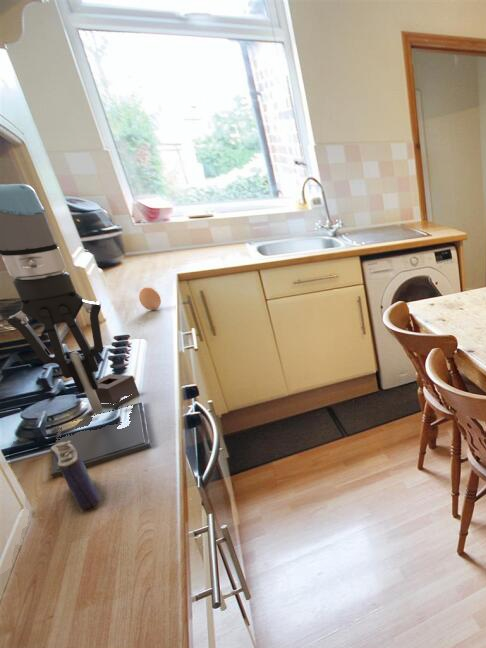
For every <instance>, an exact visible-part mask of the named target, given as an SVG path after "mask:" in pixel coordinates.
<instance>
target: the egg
mask: <svg viewBox="0 0 486 648" xmlns="http://www.w3.org/2000/svg"><path fill="white" fill-rule="evenodd" d="M138 297H139V298H138V299H139V302H140V304H141V306H142V307H143V308H144V309H146V310H148V311H156V310H158V309H159V307H160V306H161V303H162V300H161V296H160V294H159V293H158V291H157V290H155V289H154V288H152V287H150V286H145V287H143V288H142V289H141V290H140V291H139V294H138Z"/></svg>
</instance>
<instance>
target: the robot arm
mask: <svg viewBox="0 0 486 648" xmlns="http://www.w3.org/2000/svg"><path fill="white" fill-rule="evenodd" d="M0 256H1V259H2V261H3V263H4V266H5V268H6V270H7V273H8V275H9V276H10V277H12V278H14V279H13V281H12V283H13V286H14V288H15V290H16V292H17V295H18V297H19V299H20V302H21V306H20V311H18V312H16V313H15V314H11V315H9V316H8V319H7V321H6V322H7V324H8V325H10V326H11V327H13V328H14V329H16V330H17V331H19V333H20V334H21V335H22V336H23V338H24V340H25V341H26V342H27V343H28V345H29V346H30V347H31V348H32V350H33V351H34V352H35V354H36V355H37V357H38V358H39V359H40V361H41V362H42V363H43V364H44V365H48V364H56V365H58V367H59V369H60V371H61V374H62V375H63V378H65V379H67V380H68V379H71V378H72V381H73V383H74V385H75V387H76V390H77V391H78V394H83V393H85V391H84V388H83V386H82V384H81V381H80V379H79V377H78V374H77V372H76V370H75V367H74V365H73V363H72V361H71V358H70V357H69V358H67V355H66V352H65V349H64V346H63V342H62V339H61V336H60V334H59V330H58V327H57V324H66V326H67V327H68V328H69V330H70V332H71V335H72V336H73V338H74V339H75V342H76V344H77V346H78V347H79V349H80V351H81V353H82V355H80V356H81V362H82V364H83V367H84V369H85V372H86V374H87V376H88V379H89V381H90V383H91V386H92V388H93V390H95V389H98V382H97V380H98V379H97V378H96V376H95V373H96V372H97V373H98V372H99V364H98V362H97V359H96V357H95V356H96V355H97V354H100V353H102V352H103V351H104V344H103V338H102V337H103V336H102V330H101V325H100V324H101V323H100V317H99V316H100V315H99V314H100V312H101V309H102V304H101V302H100V301H89V300H85V299H84V298H83V297H82V295H80V294H78V292H77V290H76V287H75V285H74V283H73V280H72V277H71V275H70V273H69V272H67V271H66V269H67V267H68V266H67V265H66V262H65V259H64V257H63V255H62V252H61V250H60V247H59V245H58V243H57V242H56V239H55V237H54V233H53V230H52V229H51V225H50V222H49V220H48V217H47V214H46V209H45V207H44V206H43V205H42V203H41V200H40V198H39V196H38V194H37V192H36V191H35V189H34V188H33V187H32V186H30V185H29V184H25V183H10V184H9V183H8V184H7V183H6V184H5V183H3V184H2V183H1V184H0ZM82 307H83V308H84V309H85V312H86V313H87V314H89V322H90V329H91V334H92V335H91V336H92V340H93V341H92V342H93V346H90V345H91V344H90V343H89V341H88V340H87V337H86V335H85V334H84V332H83V330H82V328H81V326H80V324H79V321H78V319H77V317H78V315H79V313H80V311H81V309H82ZM28 317H30V319H31V318H32V319H33V320H35V321H37V322H39V323H41V325H43V326H44V328H45V331H46V334H47V336H48V340H49V342H50V343H49V344H50V346H51V349H52V351H53V354H52V352H50V351H49V349H48V348H47V346H46V345H45V344H44V342H43V341H42V339H40V337H39V335H38V334H37V332H35V330H34V329H33V327H32V326H31V325H30V324H29V318H28Z"/></svg>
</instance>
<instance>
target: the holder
mask: <svg viewBox="0 0 486 648" xmlns="http://www.w3.org/2000/svg"><path fill="white" fill-rule="evenodd" d="M96 380H97V382H98V389H95V392H96V394H97V396H98V399H99V401H100V404H101V403H109V404H101V406H102V408H108V409H118V408H120V407H121V406H122V405H124V404H126V403H128V402H129V401H131V400H133V399H135V398H137V397H138V396H140V391H139V389H138V386H137V384H136V381H135V379H134V376H133V375H125V374H115V373H114V374H113V373H109V374H107V375H105V376H103V377H101V378H99V379H96ZM131 394H132V395H131ZM129 395H130V396H129ZM124 396H129V397H127V398H125V399H123V400H121V401H120V402H118V403H116V402H117V401H118V400H119V399H120V398H121V397H124ZM110 403H111V404H110ZM114 403H116V404H114ZM113 404H114V405H113Z"/></svg>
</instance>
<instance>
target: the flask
mask: <svg viewBox="0 0 486 648" xmlns="http://www.w3.org/2000/svg"><path fill="white" fill-rule="evenodd" d="M70 443H71V441H69V440H68V442H60V443H58V444H56V443H55V444H53V445H52V446H51V447H50V453H51V454H52V456H53V458H55V460H56V461H57V463H58V467H59V469H60V471H61V472H62V474H63V475H62V477H63V478H64V480H65V482H66V484H67V486H68V489H69V490H70V492H71V495H72V496H73V498H74V500H75V502H76V504H77V506H78V508H79V510H80V512H89V511H92V510H94V509H96V508H98V506H99V505H100V503H101V496H100V493H99V492H98V490H97V488H96V486H95V485H94V483H93V480H92V478H91V476H90V473H89V471H88V470H87V468H86V467H85V465H84V463H83V461H82V459H81V457H80V454H79V452H78V450H77V449H76V448H75V447H74V446H73V445H72V444H70Z"/></svg>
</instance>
